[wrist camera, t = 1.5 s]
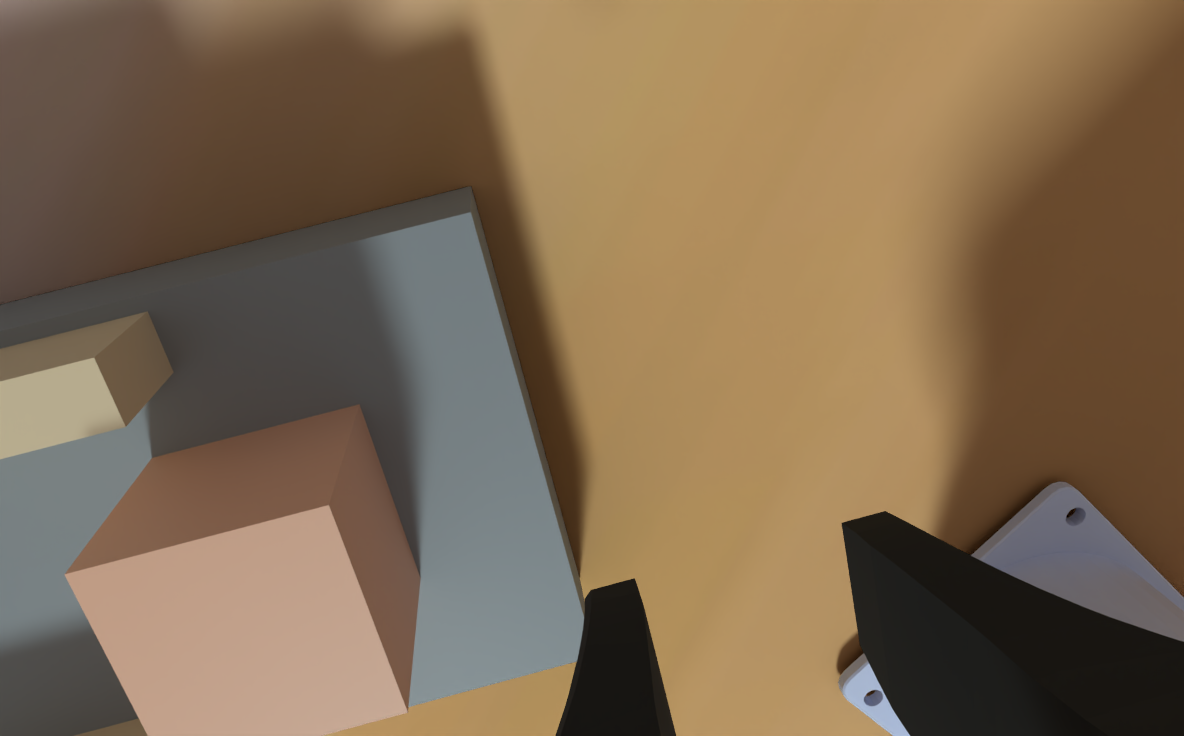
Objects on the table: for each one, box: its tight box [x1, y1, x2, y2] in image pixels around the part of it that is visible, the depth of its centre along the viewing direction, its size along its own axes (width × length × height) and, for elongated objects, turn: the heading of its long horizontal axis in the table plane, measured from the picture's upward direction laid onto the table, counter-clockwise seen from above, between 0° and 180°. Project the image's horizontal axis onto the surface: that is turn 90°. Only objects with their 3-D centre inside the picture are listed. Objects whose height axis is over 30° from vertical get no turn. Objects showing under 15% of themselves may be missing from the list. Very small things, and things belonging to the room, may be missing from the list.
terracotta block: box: [64, 404, 421, 736], centre depth 16 cm, size 4×4×4 cm
